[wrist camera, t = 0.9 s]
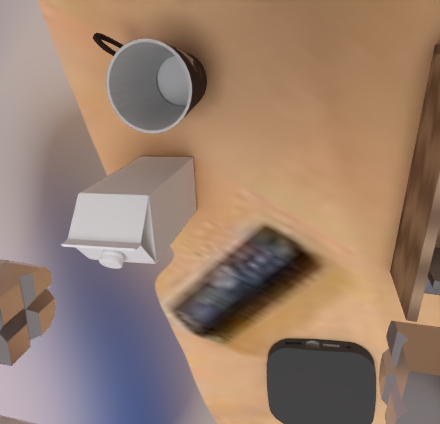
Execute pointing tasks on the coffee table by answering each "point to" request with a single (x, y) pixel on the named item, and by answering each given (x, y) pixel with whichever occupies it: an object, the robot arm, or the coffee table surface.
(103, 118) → the coffee table surface
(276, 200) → the coffee table surface
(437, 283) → the bookend
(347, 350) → the media streaming box
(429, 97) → the shelf
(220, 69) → the coffee table surface
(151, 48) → the coffee mug
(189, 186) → the milk carton
